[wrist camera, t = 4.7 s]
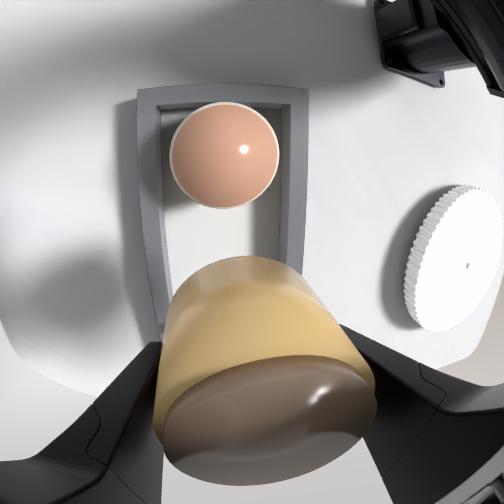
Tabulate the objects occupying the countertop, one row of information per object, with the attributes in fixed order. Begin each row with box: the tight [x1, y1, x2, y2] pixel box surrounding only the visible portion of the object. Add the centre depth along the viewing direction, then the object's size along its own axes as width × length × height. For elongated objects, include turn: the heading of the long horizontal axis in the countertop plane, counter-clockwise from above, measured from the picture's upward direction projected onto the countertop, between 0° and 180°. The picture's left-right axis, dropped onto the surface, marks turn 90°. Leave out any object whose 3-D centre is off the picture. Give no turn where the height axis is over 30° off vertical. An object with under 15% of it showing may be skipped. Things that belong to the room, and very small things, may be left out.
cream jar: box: [169, 102, 279, 209], centre depth 13 cm, size 5×5×4 cm
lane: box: [137, 84, 308, 342], centre depth 16 cm, size 9×18×3 cm, turn 0°
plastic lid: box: [404, 185, 503, 333], centre depth 20 cm, size 14×14×2 cm
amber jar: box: [153, 256, 377, 486], centre depth 7 cm, size 6×6×5 cm
